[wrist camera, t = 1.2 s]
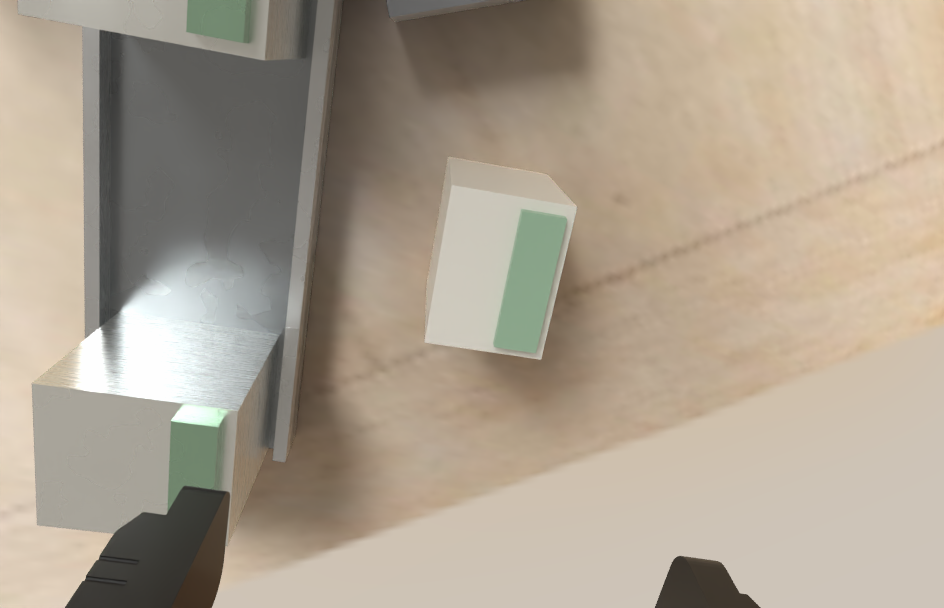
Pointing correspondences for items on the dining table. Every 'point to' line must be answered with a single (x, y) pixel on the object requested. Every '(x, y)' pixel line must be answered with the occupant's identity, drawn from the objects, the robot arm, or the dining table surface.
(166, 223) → the rail board
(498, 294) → the block
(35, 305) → the dining table surface
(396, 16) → the block
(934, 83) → the dining table surface
